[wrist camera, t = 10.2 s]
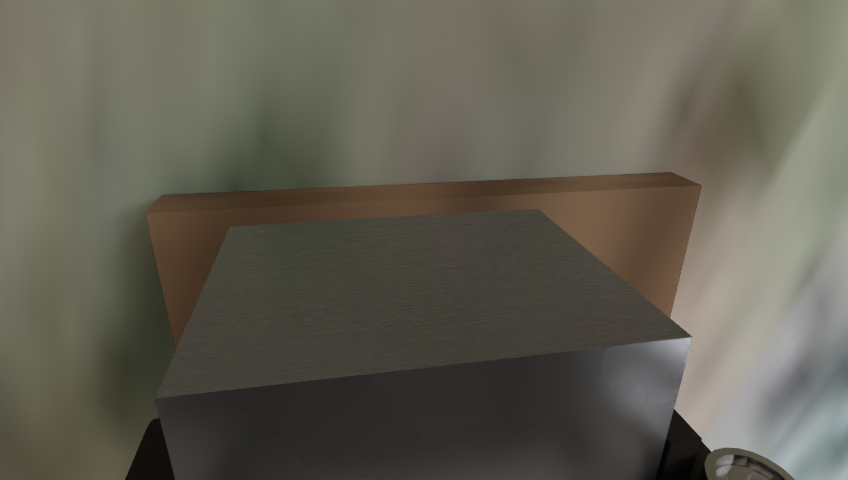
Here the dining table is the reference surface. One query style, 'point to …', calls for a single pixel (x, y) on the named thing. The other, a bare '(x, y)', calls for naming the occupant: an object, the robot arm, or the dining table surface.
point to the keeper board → (556, 197)
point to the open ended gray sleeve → (419, 356)
